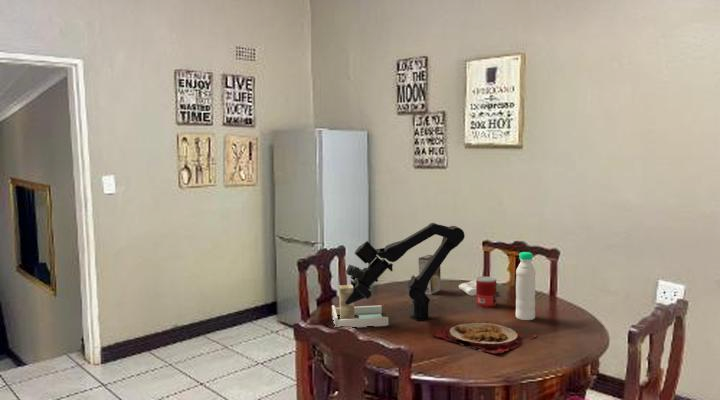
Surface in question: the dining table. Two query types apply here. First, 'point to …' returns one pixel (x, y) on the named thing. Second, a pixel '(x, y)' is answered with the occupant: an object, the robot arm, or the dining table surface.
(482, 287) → the canned food
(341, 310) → the beige cylinder
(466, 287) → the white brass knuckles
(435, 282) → the coffee box
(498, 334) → the plate with food
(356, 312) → the tray
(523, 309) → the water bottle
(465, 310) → the dining table surface
